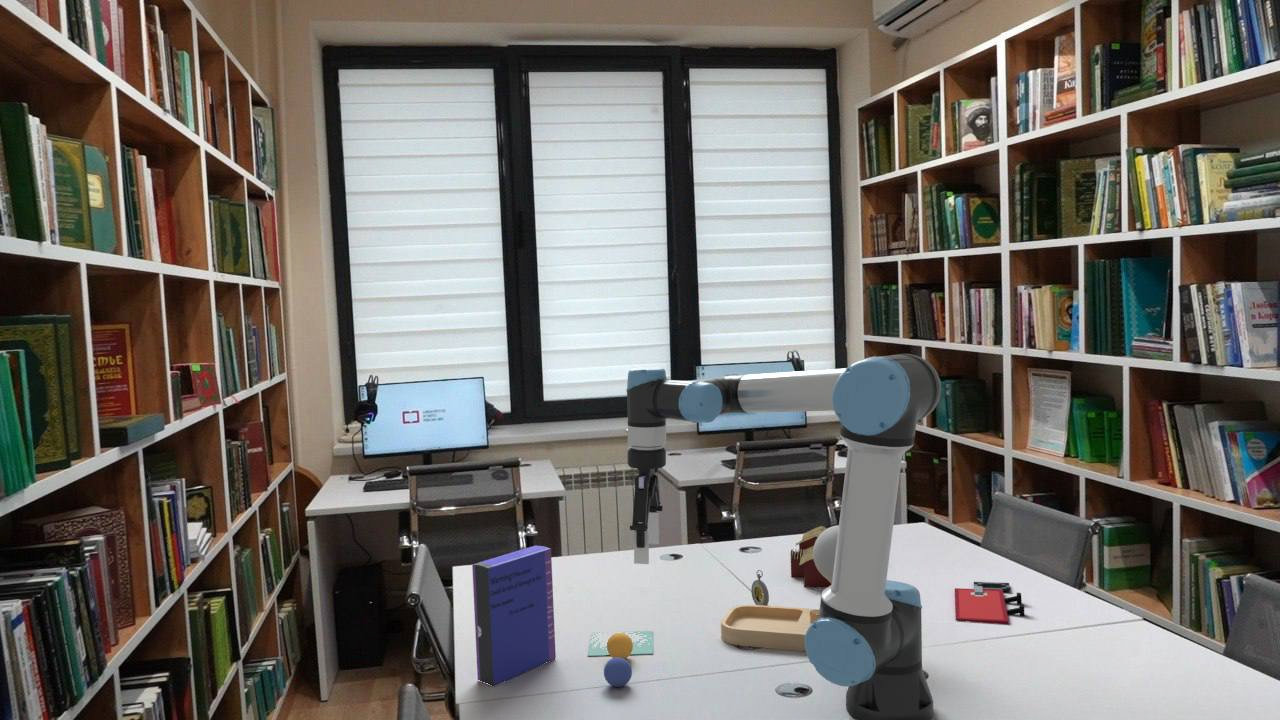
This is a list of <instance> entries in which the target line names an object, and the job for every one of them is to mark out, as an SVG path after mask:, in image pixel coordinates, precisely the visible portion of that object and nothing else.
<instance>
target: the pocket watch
mask: <svg viewBox="0 0 1280 720" xmlns="http://www.w3.org/2000/svg"><path fill="white" fill-rule="evenodd" d="M759 572H760V573H761V574H760V573H759ZM763 574H764V573H763V571H762V570H760V569H758V570H757V571H756V577H757V579H756V580H754V581H753V582H752V585H751V597H752V600H753V602H754V605H763V606H769V601H770V597H769V596H770V595H769V589H768V587H767V585H766V584H765V582H764V581H763V580H761V578H762V577H763Z"/></svg>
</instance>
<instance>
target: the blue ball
mask: <svg viewBox="0 0 1280 720" xmlns="http://www.w3.org/2000/svg"><path fill="white" fill-rule="evenodd" d="M632 669H633V668H632V666H631V664H630V662H629V661H628V660H627V659H626V658H625V659H623V658H620V657H616V658H612V657H611V659H609V660H608V661H607V662H606V664H605V665H604V669H603V677H604V679H605V681H606V682H607V683H608V684H609V685H610V686H612V687H615V688H620V687H624V686H626V685H627V684H628V683H629V682H630V680H631V679H632V678H631V677H632V675H633V674H632V673H633V670H632Z"/></svg>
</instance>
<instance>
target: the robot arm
mask: <svg viewBox="0 0 1280 720" xmlns="http://www.w3.org/2000/svg"><path fill="white" fill-rule="evenodd" d="M626 383H627V385H626V389H625V390H626V400H627V402H626V403H627V428H625V429H624V434H626V435H628V436H627V445H628V446H629V447H628V448H627V466H628V467H629V468H632V469H637V470H638V474H637V476H636V477H635V478H634V497H633V508H632V509H633V510H632V511H633V512H632V524H631V525H629V531H633V563H634V564H635V565H649V564H650V563H649V562H650V561H649V560H650V554H649V553H650V545H660V512H663V510H664V509H663V505H661V498H660V485H659V472H658V471H659V469H663V468H665V466H666V465H667V448H666V447H665V446H666V444H667V424H666V422H667V421H666V420H675V421H684V422H691V423H693V424H697V423H705V424H706V423H712V422H714V421H715V420H716V418H717V417H719V416H723V415H730V414H733V415H734V414H751V413H752V414H753V413H754V414H755V413H756V414H757V413H758V414H759V413H760V414H761V413H787V412H788V413H789V412H790V413H791V412H792V413H793V412H796V413H797V412H831V411H833V412H834V414H835V415H836V416H837V418H838V420H839V423H840V430H839V437H840V438H841V439H842V440H843V442H844V443H845V444H846V446H847V454H846V462H845V463H846V464H845V472H844V481H843V486H842V487H843V489H842V495H841V497H842V498H841V503H840V513H839V514H840V516H839V522H838V525H839V529H838V537H837V546H836V554H835V563H834V571H833V580H832V585H831V586H829V587H828V588H824V589H823V590H822V592H821V596H820V604H819V609H820V611H819V618H818V619H817V620H815V621H814V622H813V623H812V624H811V626H810V627H809V628H808V630H807V632H806V635H805V649H806V651H805V654H806V656H807V658H808V661H809V662H810V664H811V665H812V666H813V667H814V669H815V671H816V672H817V673H818V674H819V675H820V676H821V677H822V678H824V679H825V680H826V681H828V682H830V683H831V684H834V685H836V686H840V687H847V690H846V695H845V707H846V712H847V713H848V714H849V715H850V716H851V717H853V718H854V719H856V720H930V719H931V720H932V719H933V717H934V710H935V709H934V699H933V696H932V694H931V691H930V690H931V689H930V687H929V685H928V682H927V679H926V676H925V674H924V670H923V640H922V638H923V636H922V635H923V633H922V627H923V626H922V609H923V605H922V601H921V593H920V591H919V589H918V588H917V587H916V586H914V585H912V584H909V583H905V582H902V581H896V580H889V579H887V578H888V577H887V576H888V569H889V564H890V563H889V562H890V554H891V547H892V538H893V531H894V525H895V515H896V508H897V507H896V506H897V499H898V491H899V483H900V477H901V470H902V469H901V468H902V460H903V455H904V454H905V453H906V452H907V451H909V450H910V449H911V448H912V447H913V446H914V444H915V438H916V429H917V423H918V421H921V420H922V419H925V418H927V416H929V415H930V414H931V413H932V412H933V411H934V410H935V408H937V405H938V404H939V401H940V398H941V395H942V394H941V393H942V384H941V379H940V377H939V374H938V372H937V370H936V369H935V367H934V366H933V365H932V364H931V363H930V362H929V361H928V360H926V359H925V358H923V357H921V356H919V355H915V354H911V353H899V354H891V355H884V356H883V355H882V356H875V355H874V356H870V357H867V358H863V359H861V360H859V361H856V362H854V363H852V364H850V365H849V366H848V367H845V368H844V367H843V368H831V369H816V370H815V369H814V370H813V369H812V370H797V371H782V372H769V373H768V372H767V373H766V372H765V373H751V374H736V373H734V374H726V375H723V376H715V377H709V378H701V379H699V378H698V379H693V380H678V379H675V380H674V379H669V378H667V373H666V369H665V368H663V367H656V366H641V367H632V368H631V369H630V370H629V371H628V373H627V382H626Z"/></svg>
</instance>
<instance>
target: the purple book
mask: <svg viewBox="0 0 1280 720" xmlns="http://www.w3.org/2000/svg"><path fill="white" fill-rule="evenodd" d="M552 560H553V559H552V548H549V547H547V546H543V545H533V546H529V547H526V548H522V549H519V550H516V551H512V552H509V553H505V554H503V555H500V556H496V557H493V558H489V559H486V560H483V561H480V562H476V563H472V565H471V566H472V567H471V568H472V569H471V570H472V587H473V609H474V628H475V631H474V632H475V651H476V652H475V653H476V669H477V671H476V672H477V681H478V680H480V681H482V682H485V683H488V684H490V685H492V687H493V686H494V687H496V686H495V685H497V686H499V685H501V684H503V683H505V682H504V681H506V682H508V681H510V680H512V679H514V677H515V678H517V677H519V676H520V675H523V673H524V674H526V673H528V672H530V671H533V670H534V668H535V669H537V668H539V667H541V666H543V665H542V664H544V663H546V662H548V663H550V662H552V661H551V660H553V659H555V658H556V659H557V657H556V656H557V655H556V654H557V653H556V636H555V635H556V634H555V633H556V632H555V613H554V611H555V610H554V608H555V607H554V590H553V589H554V587H553V583H554V582H553V565H552ZM556 659H555V660H556ZM549 661H550V662H549ZM553 661H554V660H553ZM546 664H547V663H546ZM540 665H541V666H540ZM544 665H545V664H544ZM538 666H539V667H538ZM536 667H537V668H536ZM532 669H533V670H532ZM529 670H530V671H529ZM527 671H528V672H527ZM525 672H526V673H525ZM516 676H517V677H516ZM509 679H510V680H509ZM507 680H508V681H507ZM502 682H503V683H502ZM500 683H501V684H500ZM498 684H499V685H498ZM490 685H489V686H490Z"/></svg>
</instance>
